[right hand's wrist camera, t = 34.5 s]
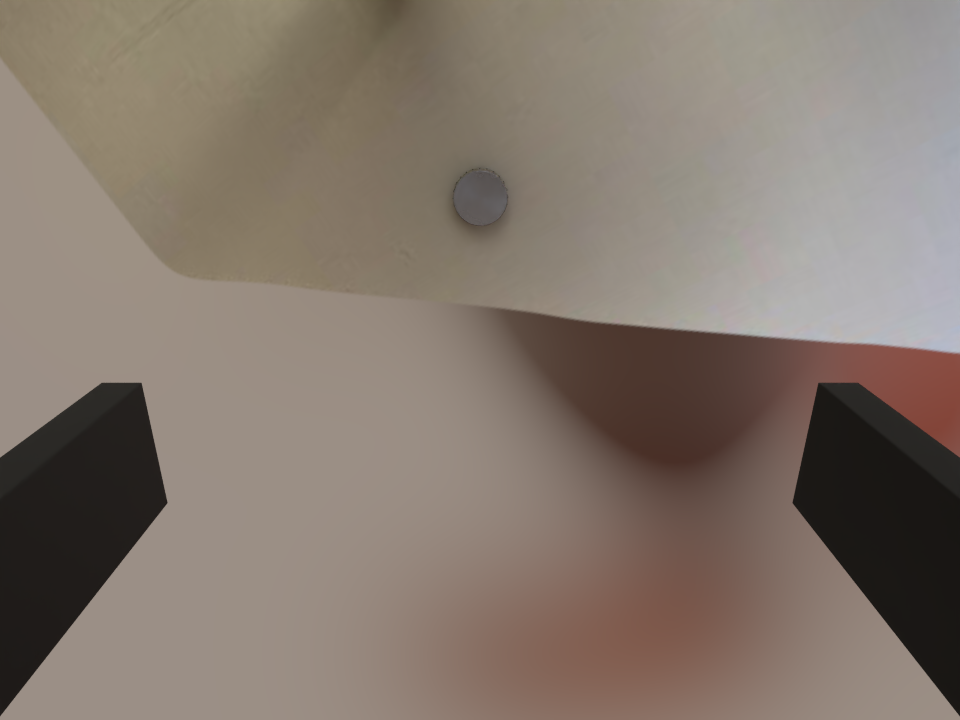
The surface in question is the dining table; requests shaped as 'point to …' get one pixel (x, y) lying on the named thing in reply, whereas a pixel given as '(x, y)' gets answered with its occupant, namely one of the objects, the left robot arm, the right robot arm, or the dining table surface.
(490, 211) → the cap
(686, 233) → the dining table surface
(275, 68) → the dining table surface
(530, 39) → the dining table surface
